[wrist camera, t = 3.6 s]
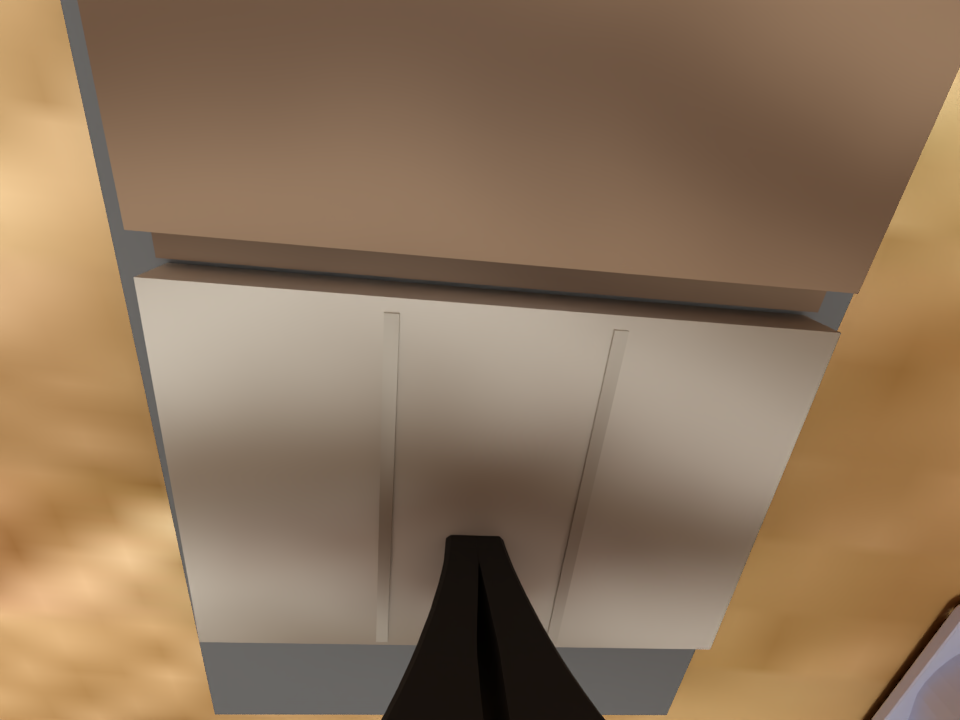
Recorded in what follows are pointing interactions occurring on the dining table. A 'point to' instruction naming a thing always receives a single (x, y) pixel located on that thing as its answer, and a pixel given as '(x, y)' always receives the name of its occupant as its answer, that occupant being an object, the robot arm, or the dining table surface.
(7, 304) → the dining table surface
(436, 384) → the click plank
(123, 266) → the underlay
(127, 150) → the laid plank
